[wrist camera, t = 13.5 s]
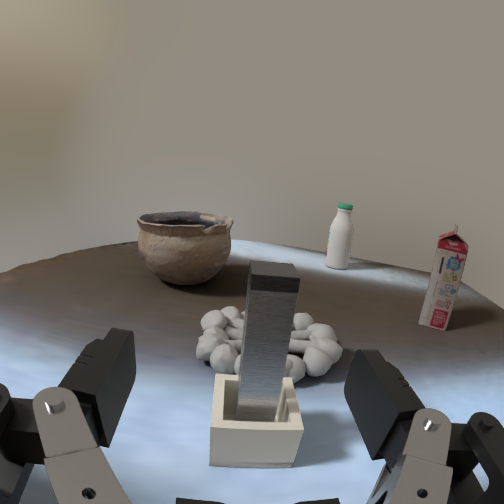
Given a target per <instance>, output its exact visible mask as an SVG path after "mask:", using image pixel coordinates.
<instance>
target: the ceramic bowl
mask: <svg viewBox="0 0 504 504" xmlns="http://www.w3.org/2000/svg"><path fill="white" fill-rule="evenodd" d="M137 221H138V224H139V226H140V234H139V240H138V248H139V254H140V256H141V258H142V260H143V261H144V263H145V264H146V266H147V267H148V269H149V270H150V271H151V272H153V273H154V274H155V275H156V276H157V277H158V278H160V279H162V280H164V281H166V282H169V283H173V284H178V285H195V284H200V283H203V282H206V281H207V280H209V279H211V278H212V277H213V276H215V275H216V274H217V273H218V272H219V271H220V270H221V268H222V267H223V266H224V264H225V263H226V261H227V258H228V256H229V254H230V250H231V238H230V229H231V227H232V224H233V219H231V218H229V217H226V216H217V215H212V214H205V213H199V212H183V211H180V212H163V213H155V214H145V215H142V216H140V217H138V218H137Z"/></svg>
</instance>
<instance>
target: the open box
mask: <svg viewBox="0 0 504 504" xmlns="http://www.w3.org/2000/svg"><path fill="white" fill-rule="evenodd" d="M237 385H238V375H230V374H217V373H216V375H215V385H214V395H213V406H212V417H211V429H210V466H221V467H239V468H292V466H293V463H294V460H295V457H296V454H297V451H298V448H299V444H300V441H301V438H302V435H303V432H304V427H303V423H302V419H301V415H300V411H299V406H298V402H297V398H296V394H295V390H294V386H293V382H292V378H291V377H283V381H282V386H281V391H280V396H279V401H278V406H277V411H276V416H275V420H274V422H249V421H234V414H235V405H236V395H237Z"/></svg>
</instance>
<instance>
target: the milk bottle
mask: <svg viewBox="0 0 504 504" xmlns="http://www.w3.org/2000/svg"><path fill="white" fill-rule="evenodd" d="M352 208H353V206H352V205H350V204H345V203H339V204H338V213H337V216H336V218H335V219H334V221H333V223H332V225H331V228H330V232H329V238H328V244H327V251H326V256H325V265H326V266H328V267H330V268H334V269H347V268H348V264H349V259H350V253H351V247H352V241H353V231H354V230H353V224H352V220H351V212H352Z"/></svg>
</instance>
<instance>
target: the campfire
mask: <svg viewBox="0 0 504 504" xmlns="http://www.w3.org/2000/svg"><path fill="white" fill-rule="evenodd" d="M244 316H245V311H244V312H242V313H241V314H240V313H239V311H238V309H237V308H235V307H233V306H228V307H225V308H223V309H222V310H221V311H219V310H213V311H210V312H208V313H207V314H206V315H204V317H203V318H202V319H201V326H202V329H203V330H204V334H203V336H201V337H200V338H199V343H198V345H197V350H196V356H197V358H198V359H199V360H204V361H210V363H211V367H212V368H213V369H214V370H216V371H217V372H218V373H219V374H233V373H236V374H237V375H239V365H240V355H241V354H240V355H238V354H239V353H241V345H242V335H243V325H244ZM342 351H343V348H342V347H341V346H340V345H339V344H338V343H337V338H336V335H335V333H334V331H333V329H332V328H331V327H330V326H329V325H325V324H318V323H316V324H314V320H313V318H312V317H311V316H310V315H308V314H307V313H297V314H295V315H294V321H293V326H292V332H291V338H290V343H289V349H288V352H292V353H301V354H304V357H303V360H302V359H301V358H299V357H298V356H295V355H289V354H288V355H287V360H286V365H285V371H284V376H283V377H291V378H292V382H293V384H294V383H296V382H297V381H299V380H300V379H302V378H303V377H304V376H305V372H306V373H307V374H308V375H310V376H315V377H316V376H321V375H324V374H326V372H327V371H328V370H329V369H330V367H331V365H332V364H334V363H336V362H338V360H339V358H340V356H341V355H342Z"/></svg>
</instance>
